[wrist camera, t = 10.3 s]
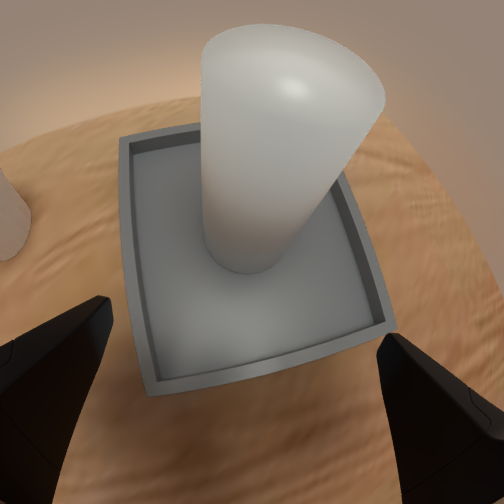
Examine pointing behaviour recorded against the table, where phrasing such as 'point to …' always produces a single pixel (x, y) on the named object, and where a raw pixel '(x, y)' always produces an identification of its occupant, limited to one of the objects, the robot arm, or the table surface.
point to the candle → (275, 135)
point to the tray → (235, 278)
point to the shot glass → (12, 220)
